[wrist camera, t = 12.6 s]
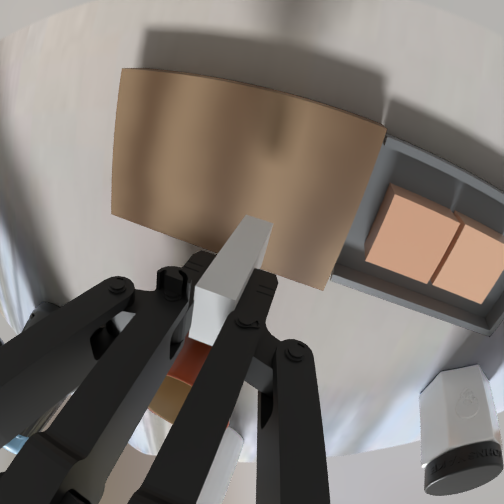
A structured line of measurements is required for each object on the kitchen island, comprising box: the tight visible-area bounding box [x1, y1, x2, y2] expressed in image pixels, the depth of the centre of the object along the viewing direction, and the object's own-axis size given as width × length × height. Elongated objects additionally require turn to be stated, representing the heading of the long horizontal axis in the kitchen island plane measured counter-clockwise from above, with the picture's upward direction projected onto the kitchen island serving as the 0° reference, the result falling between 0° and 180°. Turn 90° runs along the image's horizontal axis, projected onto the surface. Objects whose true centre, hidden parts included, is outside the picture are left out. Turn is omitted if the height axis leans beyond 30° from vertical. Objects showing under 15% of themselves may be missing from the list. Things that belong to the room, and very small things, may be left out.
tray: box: [330, 133, 504, 337], centre depth 20 cm, size 16×11×2 cm
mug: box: [148, 329, 230, 429], centre depth 28 cm, size 12×9×10 cm
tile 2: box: [364, 183, 460, 284], centre depth 19 cm, size 5×5×2 cm
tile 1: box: [430, 210, 504, 304], centre depth 19 cm, size 5×5×2 cm
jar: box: [419, 364, 503, 496], centre depth 22 cm, size 9×8×12 cm
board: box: [111, 68, 387, 291], centre depth 21 cm, size 18×12×3 cm, turn 78°
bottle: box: [196, 426, 244, 504], centre depth 35 cm, size 12×12×25 cm
